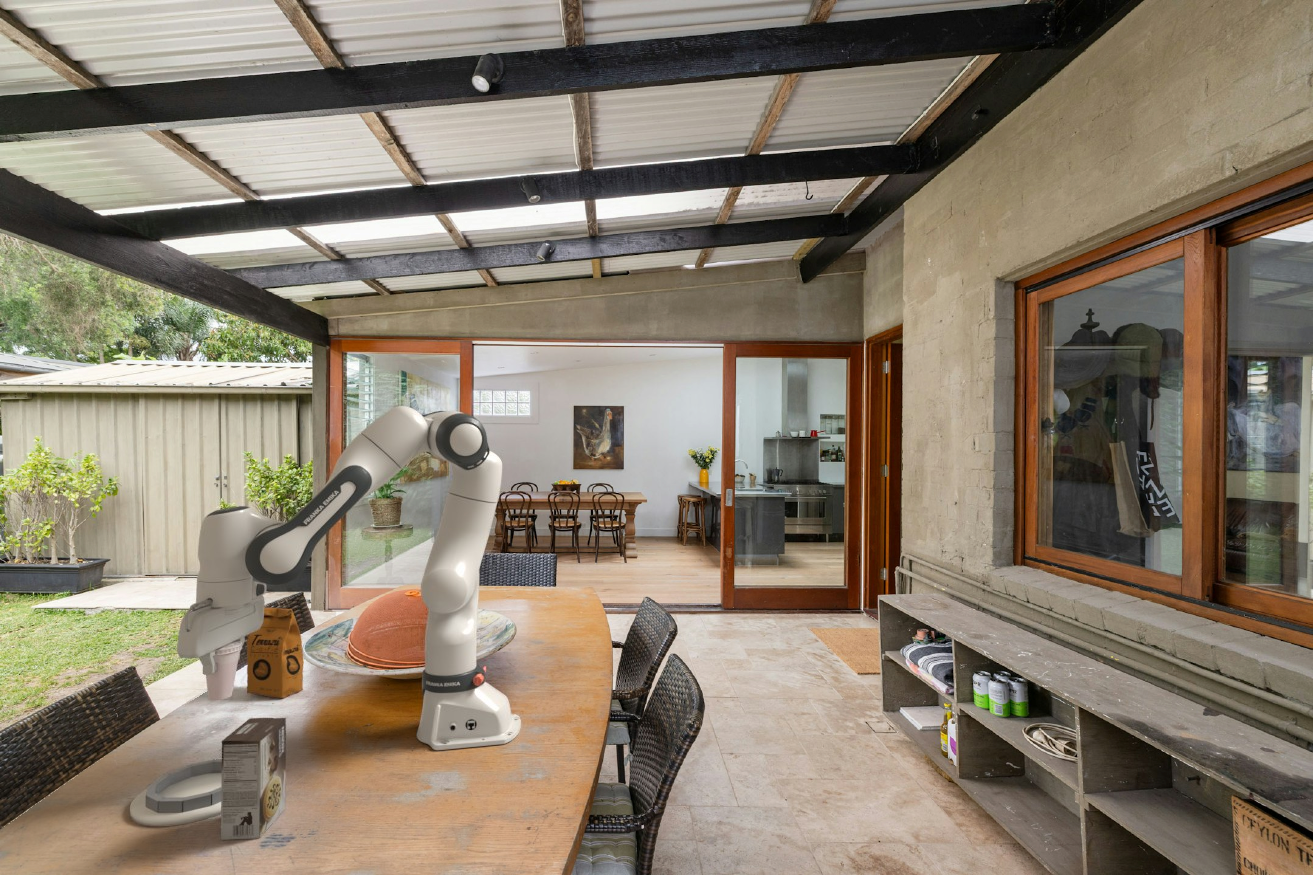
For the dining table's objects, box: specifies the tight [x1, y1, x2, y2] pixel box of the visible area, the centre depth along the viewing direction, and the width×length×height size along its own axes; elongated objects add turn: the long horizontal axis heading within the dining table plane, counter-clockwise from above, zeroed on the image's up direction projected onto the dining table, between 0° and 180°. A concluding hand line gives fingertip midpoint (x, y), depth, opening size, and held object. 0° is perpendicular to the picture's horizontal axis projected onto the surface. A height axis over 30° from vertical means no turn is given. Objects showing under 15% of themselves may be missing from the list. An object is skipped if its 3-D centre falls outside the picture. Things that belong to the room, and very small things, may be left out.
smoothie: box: [205, 640, 243, 702], centre depth 123 cm, size 6×6×14 cm
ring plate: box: [129, 758, 222, 828], centre depth 120 cm, size 20×20×3 cm
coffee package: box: [246, 606, 305, 699], centre depth 171 cm, size 10×12×22 cm
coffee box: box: [220, 717, 287, 841], centre depth 111 cm, size 9×6×16 cm
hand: (221, 667), depth 123 cm, fingers closed on smoothie, 5 cm apart
